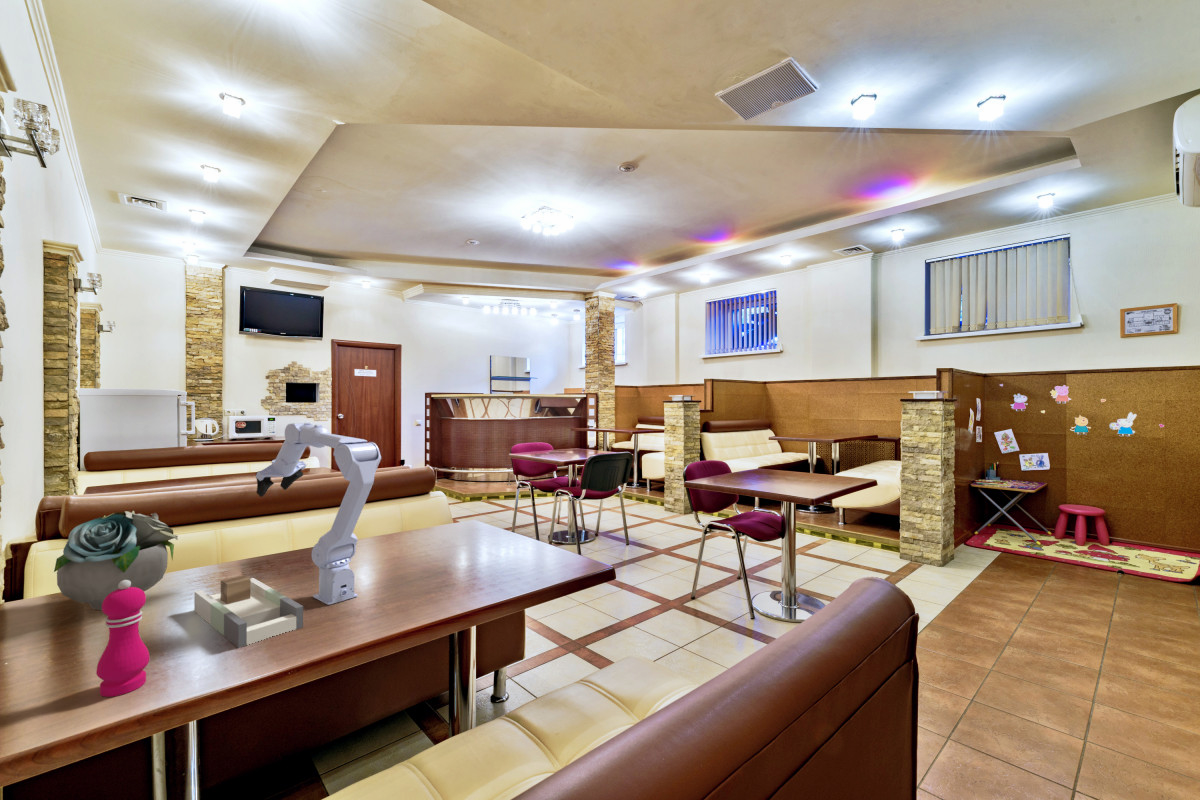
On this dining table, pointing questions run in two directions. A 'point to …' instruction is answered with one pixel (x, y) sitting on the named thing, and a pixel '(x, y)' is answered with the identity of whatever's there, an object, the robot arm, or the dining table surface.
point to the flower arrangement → (113, 556)
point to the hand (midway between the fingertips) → (271, 491)
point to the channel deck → (250, 614)
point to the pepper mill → (123, 642)
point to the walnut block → (235, 589)
